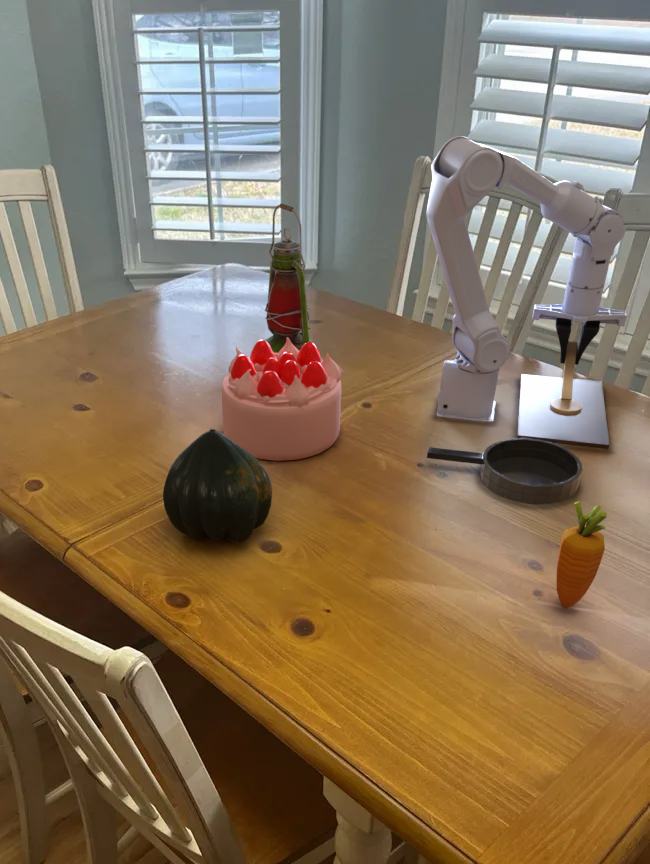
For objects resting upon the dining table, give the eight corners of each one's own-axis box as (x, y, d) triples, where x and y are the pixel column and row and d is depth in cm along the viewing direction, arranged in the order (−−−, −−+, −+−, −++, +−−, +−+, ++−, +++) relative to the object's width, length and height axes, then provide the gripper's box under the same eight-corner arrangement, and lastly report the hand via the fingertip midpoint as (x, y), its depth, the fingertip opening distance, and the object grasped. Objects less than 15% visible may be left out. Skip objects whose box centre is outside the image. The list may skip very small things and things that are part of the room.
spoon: (581, 417, 133) (591, 377, 128) (549, 414, 134) (557, 374, 130) (579, 379, 144) (587, 341, 140) (549, 376, 146) (557, 338, 141)
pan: (476, 499, 120) (479, 479, 118) (482, 452, 131) (485, 433, 129) (578, 512, 117) (583, 492, 115) (576, 463, 128) (580, 443, 126)
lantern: (330, 370, 158) (335, 208, 141) (285, 384, 154) (284, 218, 136) (289, 347, 168) (289, 192, 150) (245, 359, 164) (240, 202, 146)
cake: (221, 409, 146) (217, 333, 138) (332, 403, 147) (335, 327, 139) (226, 465, 130) (221, 383, 122) (350, 458, 131) (354, 376, 123)
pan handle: (426, 458, 126) (427, 452, 125) (428, 452, 127) (428, 446, 127) (482, 464, 124) (483, 459, 123) (483, 458, 125) (484, 453, 125)
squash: (222, 547, 104) (258, 434, 104) (130, 518, 111) (164, 413, 111) (268, 562, 116) (300, 462, 117) (183, 535, 123) (213, 441, 124)
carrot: (538, 596, 102) (562, 495, 94) (576, 593, 103) (604, 492, 94) (553, 622, 98) (580, 520, 90) (593, 619, 99) (624, 517, 90)
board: (516, 441, 134) (517, 435, 133) (520, 380, 152) (521, 374, 152) (607, 451, 130) (609, 445, 130) (600, 387, 149) (601, 381, 148)
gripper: (538, 288, 132) (524, 367, 140) (635, 294, 128) (615, 375, 136) (539, 274, 137) (525, 351, 145) (632, 280, 133) (612, 358, 141)
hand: (568, 361), depth 141 cm, fingers closed on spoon
